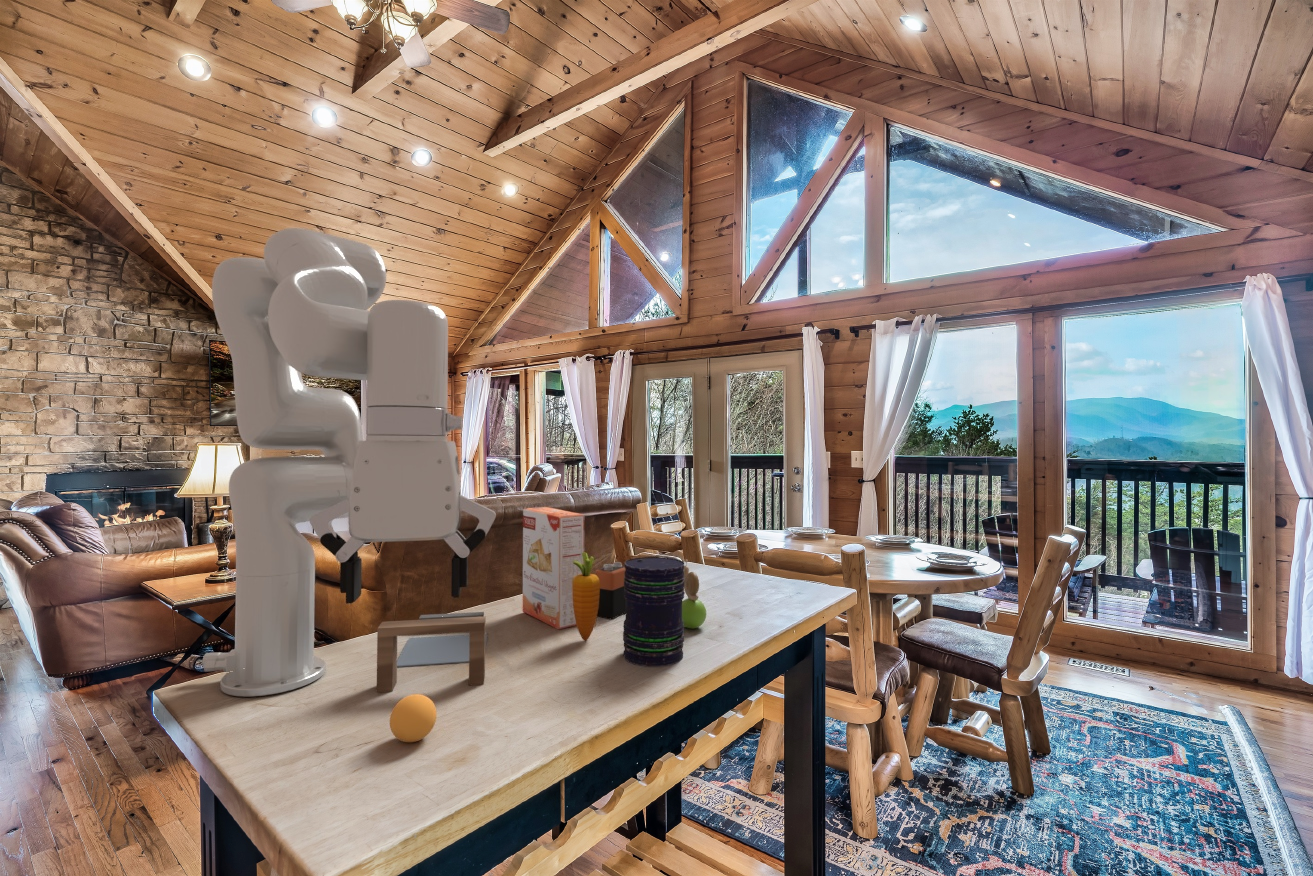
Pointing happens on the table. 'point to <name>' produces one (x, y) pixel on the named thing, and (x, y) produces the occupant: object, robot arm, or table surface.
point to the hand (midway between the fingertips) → (406, 597)
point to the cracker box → (551, 563)
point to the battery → (611, 590)
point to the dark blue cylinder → (653, 611)
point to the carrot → (585, 597)
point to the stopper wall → (451, 615)
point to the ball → (413, 718)
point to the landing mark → (435, 650)
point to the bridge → (428, 626)
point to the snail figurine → (692, 601)
